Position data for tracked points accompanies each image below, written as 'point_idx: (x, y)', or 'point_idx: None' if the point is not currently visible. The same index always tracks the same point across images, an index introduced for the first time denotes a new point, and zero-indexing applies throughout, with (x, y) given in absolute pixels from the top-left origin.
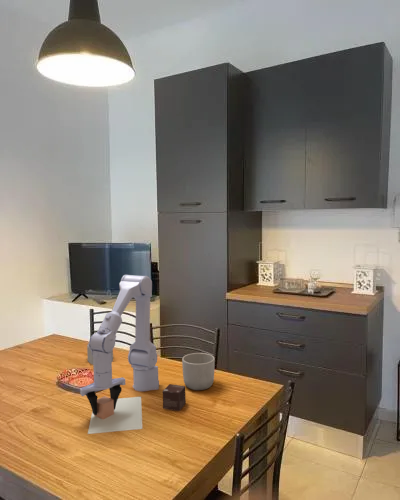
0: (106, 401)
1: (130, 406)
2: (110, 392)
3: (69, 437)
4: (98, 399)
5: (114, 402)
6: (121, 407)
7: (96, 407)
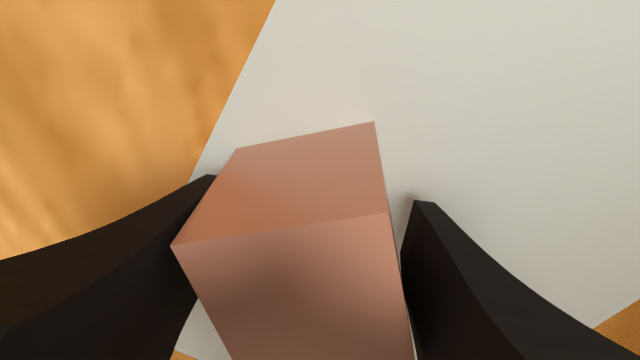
0: (314, 351)
1: (602, 226)
2: (476, 330)
3: (23, 236)
4: (250, 247)
5: (416, 335)
6: (530, 188)
7: (189, 306)
